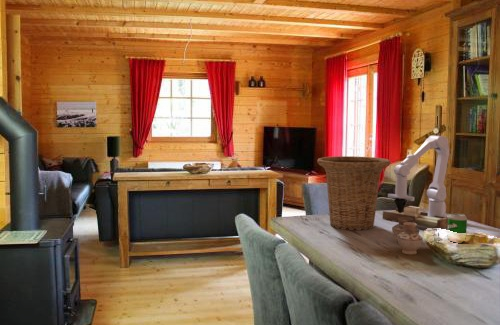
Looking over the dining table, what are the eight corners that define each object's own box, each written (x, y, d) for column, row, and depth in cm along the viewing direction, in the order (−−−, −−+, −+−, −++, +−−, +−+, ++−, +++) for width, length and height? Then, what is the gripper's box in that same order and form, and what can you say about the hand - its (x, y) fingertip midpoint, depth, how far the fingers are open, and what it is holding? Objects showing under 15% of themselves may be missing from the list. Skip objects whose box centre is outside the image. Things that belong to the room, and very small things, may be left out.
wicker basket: (312, 231, 225) (313, 161, 221) (319, 216, 258) (320, 155, 255) (389, 236, 216) (392, 163, 213) (386, 219, 250) (388, 157, 247)
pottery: (396, 255, 187) (397, 225, 186) (390, 239, 211) (391, 212, 210) (426, 257, 185) (427, 227, 184) (416, 240, 209) (417, 213, 208)
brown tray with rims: (397, 214, 263) (397, 206, 262) (454, 224, 240) (455, 215, 239) (381, 219, 252) (381, 210, 252) (440, 229, 229) (440, 220, 228)
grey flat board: (435, 218, 254) (435, 215, 254) (457, 222, 245) (457, 219, 245) (407, 226, 234) (407, 223, 234) (430, 231, 225) (430, 228, 225)
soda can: (462, 239, 210) (463, 213, 209) (468, 244, 203) (469, 216, 202) (444, 239, 211) (445, 212, 210) (450, 243, 204) (451, 216, 202)
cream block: (409, 214, 252) (409, 206, 252) (420, 216, 248) (420, 207, 247) (403, 215, 248) (404, 207, 248) (414, 217, 244) (414, 209, 243)
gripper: (384, 186, 254) (384, 211, 255) (409, 189, 243) (409, 215, 245) (392, 185, 259) (391, 209, 260) (416, 188, 248) (415, 213, 249)
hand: (400, 212), depth 253 cm, fingers closed
